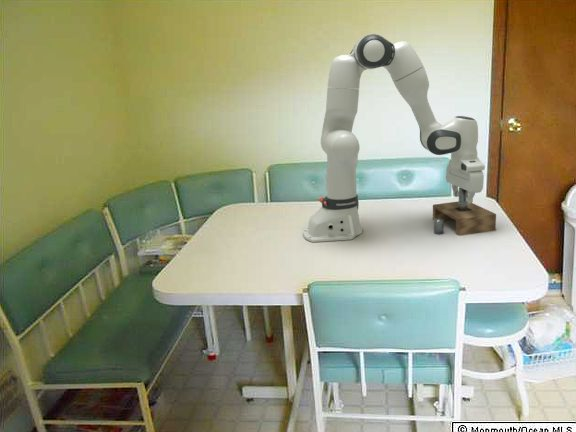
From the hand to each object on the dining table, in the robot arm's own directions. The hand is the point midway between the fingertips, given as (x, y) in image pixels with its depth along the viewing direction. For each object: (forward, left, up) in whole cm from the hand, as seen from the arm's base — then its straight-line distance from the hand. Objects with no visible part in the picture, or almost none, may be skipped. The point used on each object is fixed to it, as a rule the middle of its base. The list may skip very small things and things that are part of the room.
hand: (462, 199), depth 178 cm
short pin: (-12, -5, -10) cm, 16 cm away
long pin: (0, 0, -10) cm, 10 cm away
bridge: (0, 0, -10) cm, 10 cm away
